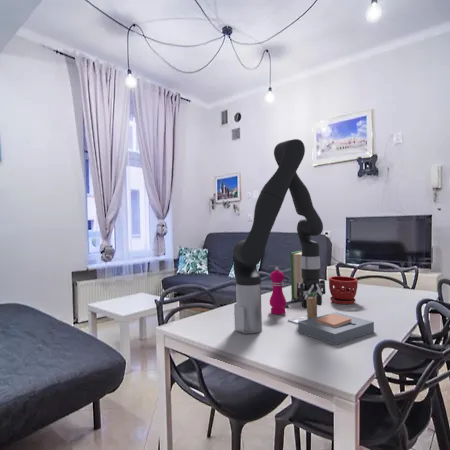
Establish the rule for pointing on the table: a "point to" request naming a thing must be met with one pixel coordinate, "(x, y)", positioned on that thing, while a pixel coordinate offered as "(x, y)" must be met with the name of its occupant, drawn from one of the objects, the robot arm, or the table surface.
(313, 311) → the trowel
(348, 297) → the plant pot
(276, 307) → the pepper mill
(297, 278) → the hardback book
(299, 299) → the bracket
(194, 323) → the table surface
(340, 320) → the tile
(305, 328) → the tile stand
